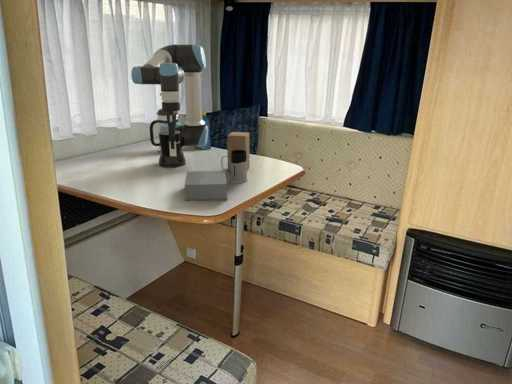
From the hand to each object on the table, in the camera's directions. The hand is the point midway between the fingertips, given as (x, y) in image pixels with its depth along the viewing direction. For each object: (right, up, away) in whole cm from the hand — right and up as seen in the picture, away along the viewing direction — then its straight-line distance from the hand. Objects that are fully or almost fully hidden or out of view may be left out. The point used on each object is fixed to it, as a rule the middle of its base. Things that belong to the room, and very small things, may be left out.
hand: (173, 153), depth 182 cm
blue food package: (+1, +12, +94) cm, 95 cm away
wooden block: (+27, -5, +46) cm, 53 cm away
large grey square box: (+13, -18, +9) cm, 24 cm away
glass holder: (+25, -12, +26) cm, 38 cm away
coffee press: (-20, +8, +82) cm, 84 cm away
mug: (0, -1, +1) cm, 1 cm away
